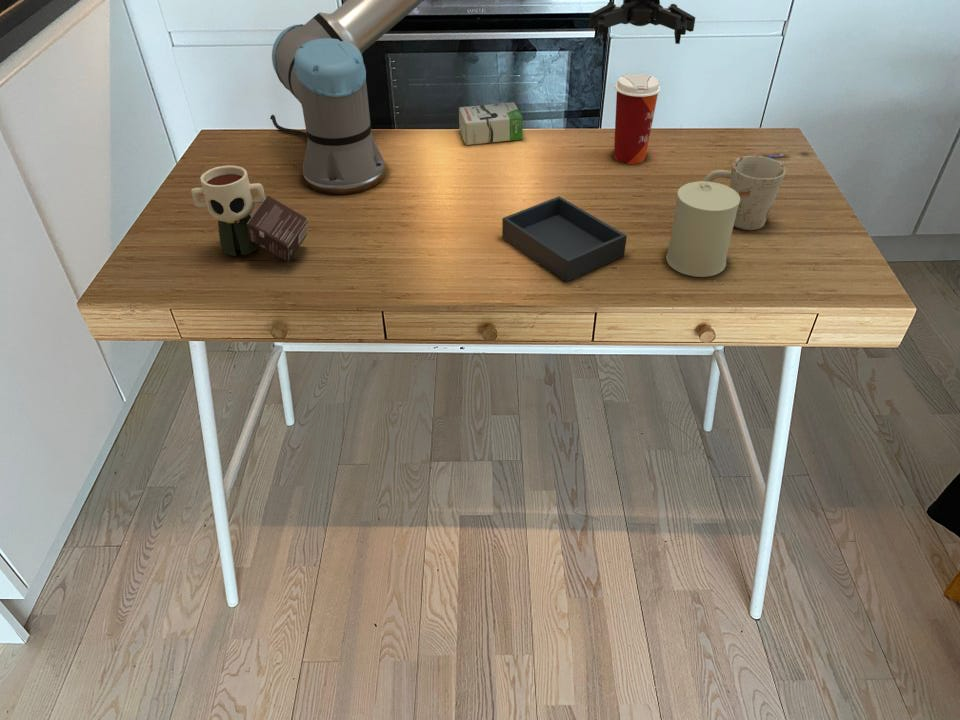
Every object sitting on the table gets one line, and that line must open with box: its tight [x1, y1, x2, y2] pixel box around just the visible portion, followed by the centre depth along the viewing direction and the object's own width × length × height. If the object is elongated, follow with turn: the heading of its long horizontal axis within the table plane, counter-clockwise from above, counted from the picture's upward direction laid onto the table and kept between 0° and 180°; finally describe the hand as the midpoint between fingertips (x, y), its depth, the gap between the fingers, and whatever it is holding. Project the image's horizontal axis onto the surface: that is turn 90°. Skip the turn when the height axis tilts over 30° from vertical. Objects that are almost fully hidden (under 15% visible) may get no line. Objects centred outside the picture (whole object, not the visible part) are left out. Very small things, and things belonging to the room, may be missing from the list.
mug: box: [702, 155, 787, 231], centre depth 128 cm, size 8×13×10 cm, turn 70°
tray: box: [501, 195, 627, 283], centre depth 124 cm, size 16×12×4 cm
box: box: [247, 195, 309, 263], centre depth 121 cm, size 6×6×7 cm
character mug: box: [190, 164, 266, 257], centre depth 122 cm, size 11×7×13 cm, turn 98°
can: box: [665, 180, 740, 278], centre depth 118 cm, size 9×9×12 cm
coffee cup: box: [613, 73, 661, 165], centre depth 146 cm, size 8×8×15 cm
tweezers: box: [767, 153, 786, 159], centre depth 149 cm, size 2×12×1 cm, turn 103°
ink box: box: [458, 101, 524, 146], centre depth 158 cm, size 9×5×12 cm
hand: (641, 35), depth 145 cm, fingers open, 13 cm apart
